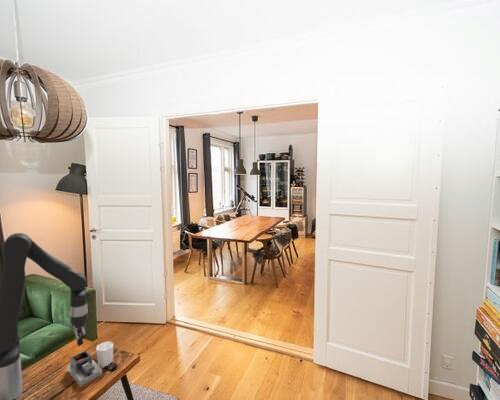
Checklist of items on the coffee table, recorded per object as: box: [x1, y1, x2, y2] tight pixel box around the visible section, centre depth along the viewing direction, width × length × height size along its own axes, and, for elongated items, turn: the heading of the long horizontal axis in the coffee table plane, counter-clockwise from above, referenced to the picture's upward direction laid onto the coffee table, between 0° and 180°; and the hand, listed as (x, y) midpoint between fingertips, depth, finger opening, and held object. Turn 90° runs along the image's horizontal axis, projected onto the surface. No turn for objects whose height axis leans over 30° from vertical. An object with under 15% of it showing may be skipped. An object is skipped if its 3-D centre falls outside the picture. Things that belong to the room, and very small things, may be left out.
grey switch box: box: [67, 349, 103, 388], centre depth 135 cm, size 10×16×7 cm, turn 53°
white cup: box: [96, 340, 114, 369], centre depth 141 cm, size 8×8×10 cm
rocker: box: [81, 362, 95, 373], centre depth 132 cm, size 4×7×2 cm, turn 53°
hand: (80, 344), depth 136 cm, fingers closed
